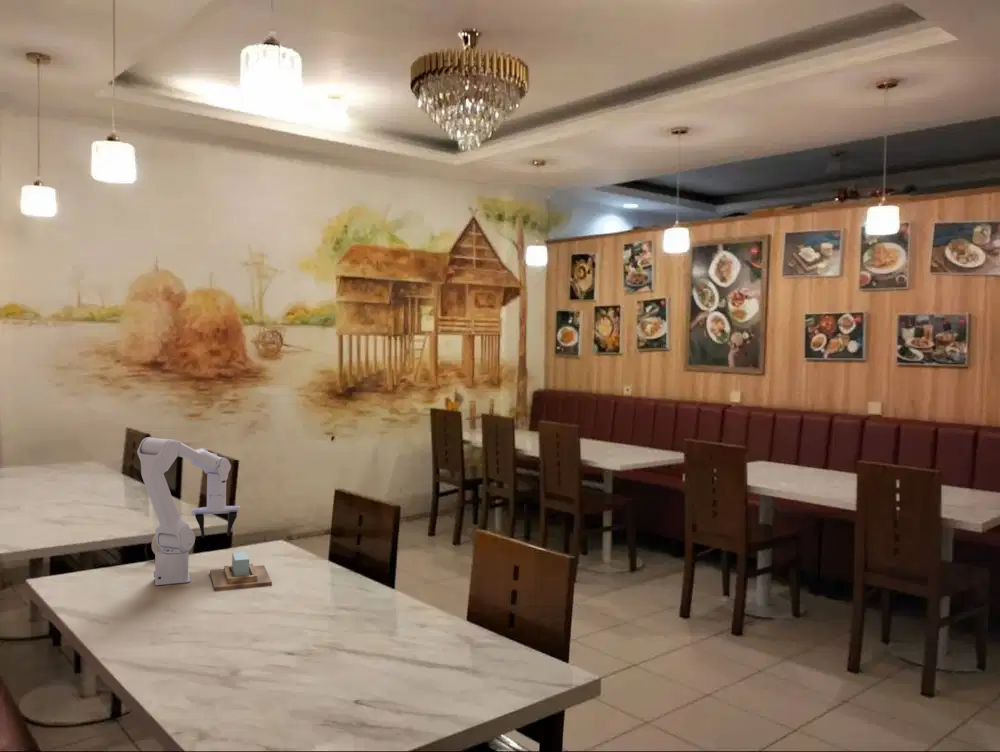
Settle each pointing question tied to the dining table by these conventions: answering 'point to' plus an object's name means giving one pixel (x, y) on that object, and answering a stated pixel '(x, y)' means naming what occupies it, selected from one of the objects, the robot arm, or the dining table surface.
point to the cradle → (239, 578)
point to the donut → (155, 545)
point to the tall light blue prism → (240, 564)
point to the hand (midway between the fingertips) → (215, 536)
